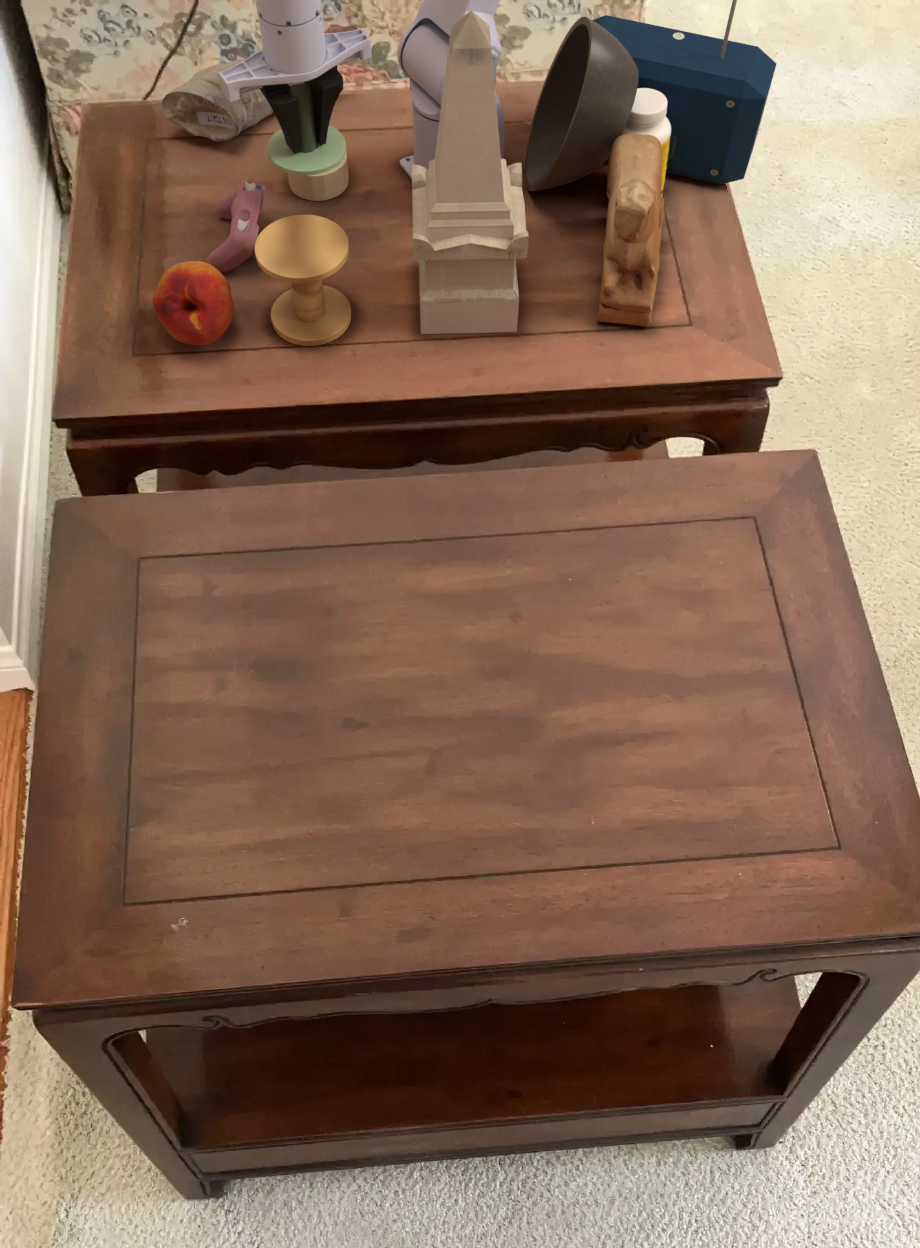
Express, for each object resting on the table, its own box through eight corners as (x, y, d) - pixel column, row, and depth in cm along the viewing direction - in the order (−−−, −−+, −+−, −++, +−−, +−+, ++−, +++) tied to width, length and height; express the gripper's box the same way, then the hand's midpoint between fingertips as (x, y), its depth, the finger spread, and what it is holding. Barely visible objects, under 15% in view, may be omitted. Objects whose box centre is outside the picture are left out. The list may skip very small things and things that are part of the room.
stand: (332, 276, 118) (324, 203, 111) (370, 330, 114) (364, 258, 107) (253, 304, 116) (239, 232, 108) (289, 360, 112) (277, 289, 104)
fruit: (147, 350, 113) (127, 287, 106) (183, 295, 117) (166, 231, 110) (220, 369, 111) (204, 307, 105) (254, 314, 115) (242, 250, 109)
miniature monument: (515, 262, 120) (532, -28, 94) (521, 335, 114) (541, 47, 88) (415, 264, 119) (404, -26, 94) (416, 337, 114) (406, 49, 88)
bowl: (655, 104, 106) (592, 94, 105) (578, 227, 127) (524, 220, 126) (653, -10, 108) (590, -22, 107) (577, 129, 130) (524, 121, 128)
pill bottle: (673, 200, 124) (687, 106, 115) (626, 219, 123) (636, 125, 114) (641, 170, 127) (652, 76, 118) (594, 188, 126) (602, 94, 117)
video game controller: (244, 288, 119) (267, 240, 114) (202, 272, 118) (222, 222, 112) (255, 225, 125) (277, 176, 119) (214, 208, 123) (234, 158, 118)
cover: (326, 117, 117) (319, 56, 111) (359, 160, 113) (354, 100, 108) (255, 139, 115) (245, 79, 109) (286, 184, 111) (277, 124, 106)
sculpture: (590, 325, 115) (607, 200, 102) (603, 213, 123) (620, 85, 110) (654, 331, 114) (679, 206, 101) (661, 219, 123) (685, 91, 110)
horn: (244, 123, 120) (173, 49, 118) (217, 187, 130) (151, 119, 128) (354, 41, 128) (289, -29, 127) (321, 107, 139) (260, 43, 137)
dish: (333, 155, 129) (330, 129, 126) (359, 189, 126) (357, 163, 123) (279, 173, 127) (275, 147, 124) (304, 208, 124) (300, 182, 121)
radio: (753, 147, 130) (803, -33, 113) (739, 194, 125) (788, 15, 108) (575, 107, 133) (597, -73, 116) (555, 152, 128) (574, -29, 111)
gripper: (343, -36, 105) (354, 99, 117) (196, 7, 102) (222, 142, 113) (378, 3, 102) (385, 137, 114) (227, 48, 98) (251, 183, 110)
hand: (306, 143), depth 113 cm, fingers closed on cover, 2 cm apart
